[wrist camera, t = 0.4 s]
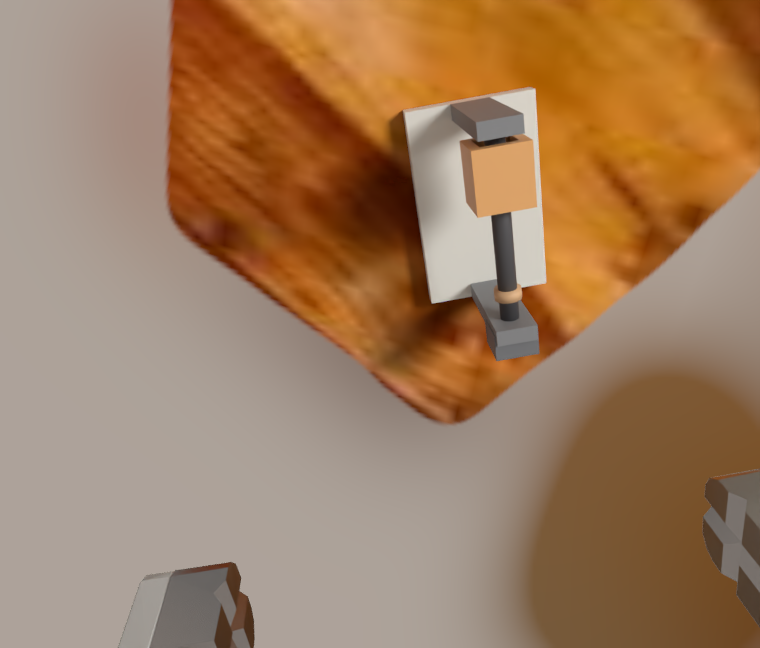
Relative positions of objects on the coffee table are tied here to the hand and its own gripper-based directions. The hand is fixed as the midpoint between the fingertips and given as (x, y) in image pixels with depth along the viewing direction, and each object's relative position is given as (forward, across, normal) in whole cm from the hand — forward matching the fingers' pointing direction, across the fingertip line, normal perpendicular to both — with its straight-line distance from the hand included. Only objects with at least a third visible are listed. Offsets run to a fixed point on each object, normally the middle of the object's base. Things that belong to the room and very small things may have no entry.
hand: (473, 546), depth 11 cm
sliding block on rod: (+44, -8, +7) cm, 45 cm away
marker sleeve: (+37, -8, +3) cm, 38 cm away
